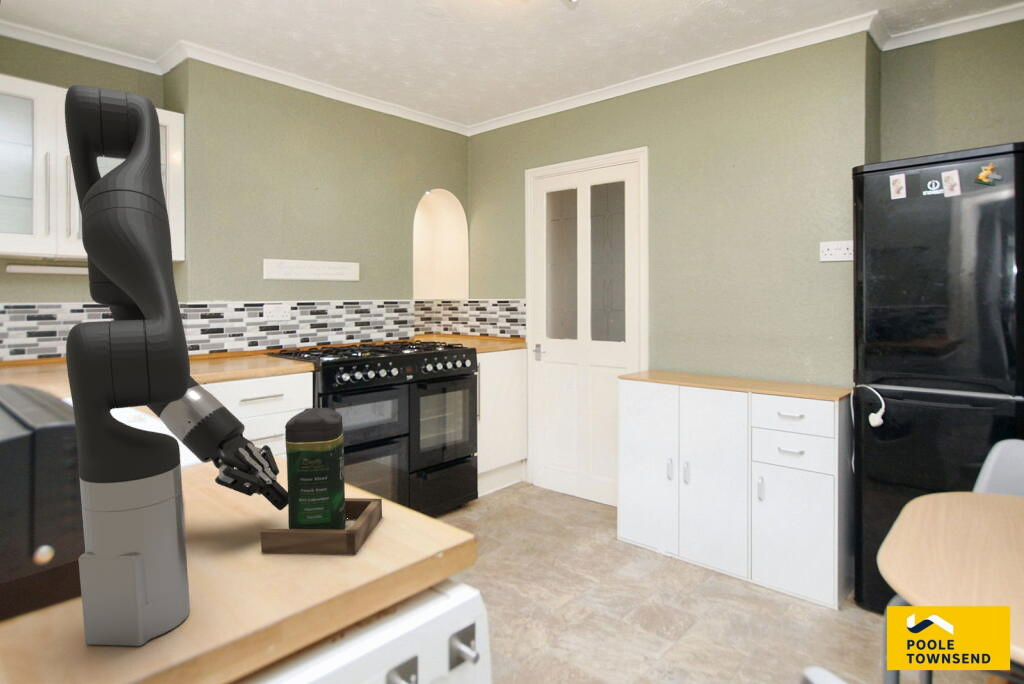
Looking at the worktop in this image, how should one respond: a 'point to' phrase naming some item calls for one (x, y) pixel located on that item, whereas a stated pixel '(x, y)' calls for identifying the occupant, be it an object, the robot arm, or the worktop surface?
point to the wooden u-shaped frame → (327, 532)
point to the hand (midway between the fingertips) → (287, 504)
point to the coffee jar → (315, 470)
